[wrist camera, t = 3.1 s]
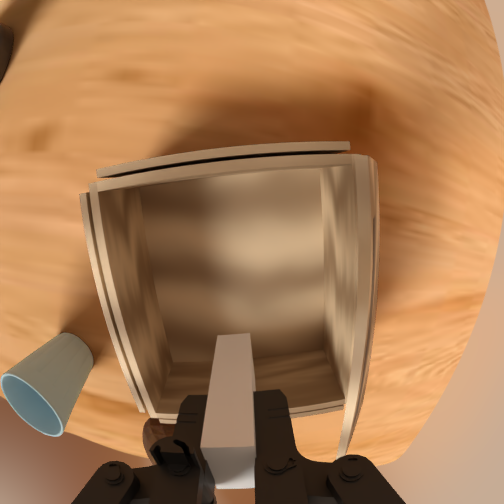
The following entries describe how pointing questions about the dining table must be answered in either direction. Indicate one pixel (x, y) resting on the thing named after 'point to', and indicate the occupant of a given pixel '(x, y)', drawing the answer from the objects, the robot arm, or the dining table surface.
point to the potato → (155, 434)
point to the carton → (229, 269)
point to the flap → (363, 291)
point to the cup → (49, 383)
